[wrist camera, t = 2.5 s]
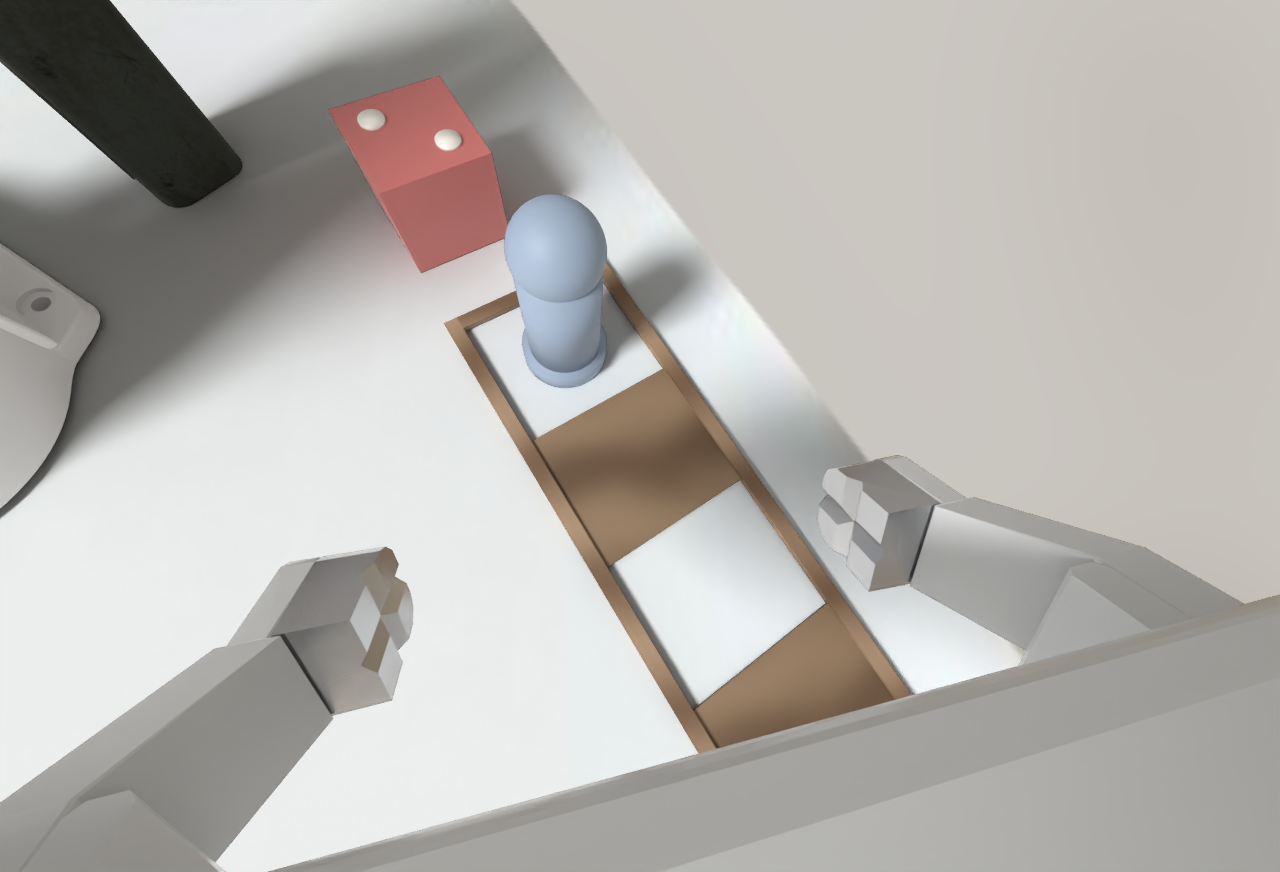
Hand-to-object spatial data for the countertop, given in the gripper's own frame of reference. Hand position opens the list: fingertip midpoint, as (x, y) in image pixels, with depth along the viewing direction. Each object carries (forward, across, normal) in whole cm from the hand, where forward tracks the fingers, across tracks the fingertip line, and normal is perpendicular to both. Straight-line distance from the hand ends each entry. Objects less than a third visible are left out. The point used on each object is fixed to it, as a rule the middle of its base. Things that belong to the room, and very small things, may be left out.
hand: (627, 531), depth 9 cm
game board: (+12, -4, +10) cm, 17 cm away
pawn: (+20, 0, +2) cm, 20 cm away
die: (+27, +6, -5) cm, 29 cm away
